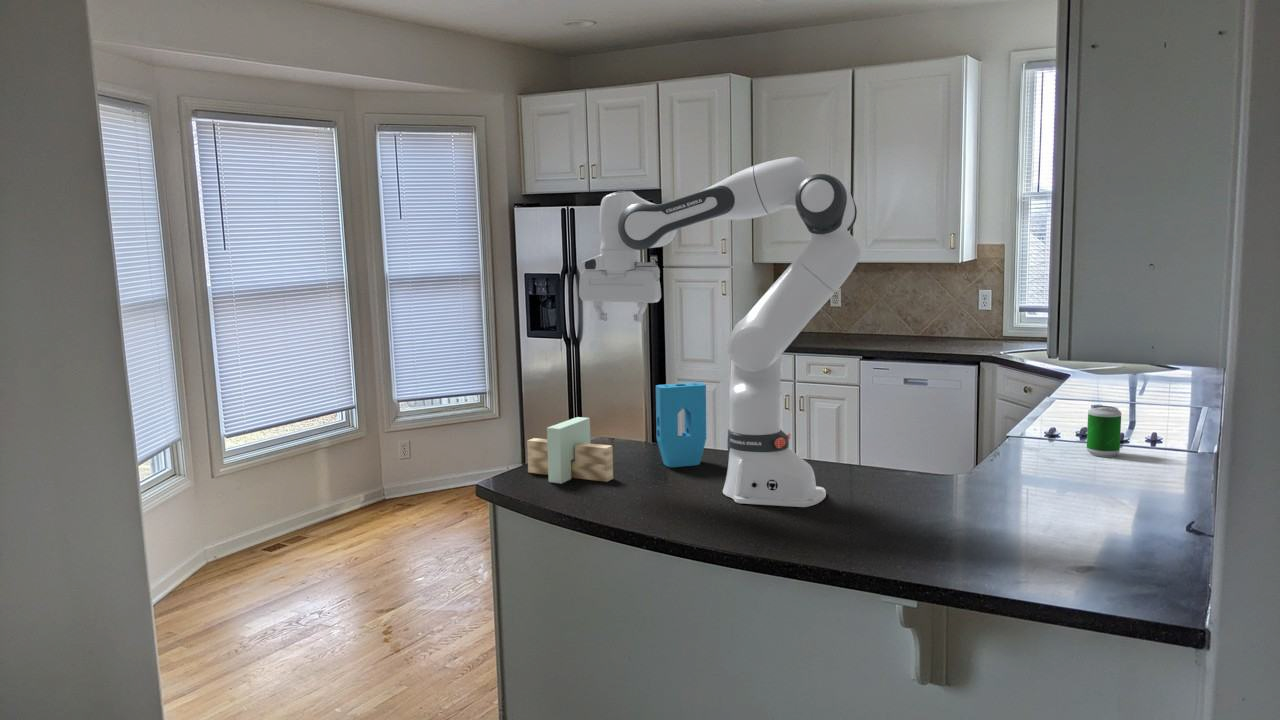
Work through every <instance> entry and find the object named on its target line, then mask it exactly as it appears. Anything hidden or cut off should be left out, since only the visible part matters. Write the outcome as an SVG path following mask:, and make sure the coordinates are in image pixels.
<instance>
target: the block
mask: <svg viewBox="0 0 1280 720" xmlns="http://www.w3.org/2000/svg"><path fill="white" fill-rule="evenodd" d="M682 410H684V411H683V412H684V432H683V431H682V432H681V435H679V423H678V422H679V420H678V419H679V416H678V415H679V413H680V412H681V411H682ZM655 420H656V422H655V423H656V427H655V428H656V429H655V430H656V433H655V434H656V442H657V446H658V449H659V452H660V456H661V459H662V462H663V465H664V466H666V467H667V468H679V467H691V466H699V465H700V464H701V461H702V457H703V453H704V449H705V445H706V440H707V385H706V384H705V383H704V382H684V383H668V384H667V383H665V384H657V385H655Z"/></svg>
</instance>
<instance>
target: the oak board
mask: <svg viewBox="0 0 1280 720" xmlns="http://www.w3.org/2000/svg"><path fill="white" fill-rule="evenodd" d="M526 441H527V442H526V444H527V445H526V446H527V448H526V449H527V472H528V473H530V474H538V475H545V476H546V475H547V476H548V448H547V438H539V437H538V438H537V437H533V438H531V439H527V440H526ZM590 443H591V442H590ZM590 443H579V444H577V445H575V459H573V460H571V479H581V480H589V481H599V482H605V483H606V482H607V483H608V482H609V481H611V480H614V461H613V458H614V455H613V445H610V444H599V443H597V444H596V443H591V444H590Z"/></svg>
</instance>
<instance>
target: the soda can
mask: <svg viewBox="0 0 1280 720" xmlns="http://www.w3.org/2000/svg"><path fill="white" fill-rule="evenodd" d="M1121 427H1122V411H1121V410H1119V408H1118V407H1117V406H1110V405H1092V406H1091V408H1089V409H1088V411H1087V432H1086V451H1087V452H1088V453H1089V455H1091V456H1094V457H1097V458H1098V457H1100V458H1114V457H1116V456H1117V454H1119V453H1120V451H1121V448H1120V447H1121V433H1122V431H1121Z"/></svg>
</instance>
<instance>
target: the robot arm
mask: <svg viewBox="0 0 1280 720" xmlns="http://www.w3.org/2000/svg"><path fill="white" fill-rule="evenodd" d="M599 208H600V209H599V234H600V238H601V239H600V240H601V241H600V242H601V243H600V247H599V255H596V256H593V257H590V258H588V259H585V260H583V261H581V263H580V267H581V270H582V272H581V274H580V276H579V282H578V283H579V284H578V285H579V286H578V295H579V298H580V299H581V301H582V302H593V308H594V309H595V312H596V313H597V315H598V316H597V317H598V322H606V321H607V320H608V313H607V312H605V311H604V309H603V308H602V306H604V302H605V303H606V302H607V303H637V308H639V309H638V310H637V313H636V314H635V313H634V314H633V322H634V323H643V319H644V318H643V315H644V313H645V311H646V309H647V307H648V304H654V303H658V302H660V300H661V298H662V288H661V282H660V278H661V275H660V274H661V270H660V267H659V266H658V265H657V264H655V263H654V262H651V261H648V262H643V261H642V262H641V261H639V251H641V250H646V249H654V248H662V247H664V246H667V245H669V244H670V243H671V242H673V241H674V240H675V238H676V237H677V234H678V232H679V230H681V229H683V228H686V227H690V226H693V225H696V224H699V223H703V222H707V221H708V222H709V221H716V220H718V221H719V220H724V221H726V220H728V221H743V220H744V221H745V220H751V219H755V218H757V219H758V218H761V217H764V216H767V215H770V214H773V213H776V212H780V211H783V210H787V209H795V210H796V211H797V213H798V216H799V217H800V219H801V220H802V222H803V223H804V225H805V227H806V229H807V230H808V232H809V233H810V234H811V236H810V237H811V238H810V240H809V242H808V244H807V246H806V247H805V248H804V249H803V250H802V251H801V252H800V253H799V255H798V256H796V258H795V259H793V261H792V262H791V264H789V266H788V267H787V268H786V269H785V270H784V271H783V272H782V274H781V275H780V276H779V277H778V278H777V279H776V281H774V283H773V284H772V285H771V286H770V287H769V288H768V290H767V291H766V292H765V293H764V294H763V295H762V296H761V298H760V299H759V300H758V301H757V302H756V303H755V304H754V306H753V307H752V308H751V309H750V310H749V311H748V313H747V314H746V315H745V316H744V317H743V318H741V320H739V321H738V322H737V323H736V324H735V326H734V327H733V329H732V331H731V333H729V337H728V340H727V352H728V355H729V358H730V379H729V428H728V430H727V439H726V441H727V443H726V445H727V446H726V447H727V455H728V465H727V470H726V476H725V481H724V486H723V489H722V493H723V495H724V496H725V497H728V498H731V499H732V500H733V501H734V502H735V503H737V504H746V505H747V504H748V505H761V506H777V507H778V506H779V507H794V508H795V507H797V508H809V507H811V506H815V505H818V504H819V503H821V502H822V501H823V500H824V499H826V497H827V491H826V489H825V488H824V487H822V486H819V485H818V486H817V483H816V476H815V472H814V471H815V470H814V469H813V467H812V465H811V464H809V462H807V461H806V460H804V459H803V458H802V457H800V456H799V455H798V454H797V453H795V451H793V450H792V449H791V448H790V447H789V445H790V439H791V433H788V434H786V433H785V432H784V431H783V430H782V429H781V361H782V358H781V357H782V356H781V355H782V354H784V352H785V351H786V349H788V347H789V346H790V345H791V344H792V342H793V341H794V340H795V339H796V338H797V336H798V335H799V334H800V333H801V332H802V331H803V329H804V328H805V327H806V326H807V324H808V323H809V322H810V321H811V319H813V317H815V315H816V314H817V313H818V312H819V311H820V310H821V309H822V308H823V306H824V305H826V303H827V302H828V301H829V300H830V299H831V298H832V297H833V295H834V294H836V292H838V290H839V289H840V288H841V286H842V285H843V284H844V283H845V281H846V280H847V279H848V278H849V276H850V275H851V273H852V272H853V270H854V269H855V267H856V266H857V264H858V262H859V260H860V258H861V253H862V251H861V248H860V245H859V243H858V241H857V240H856V238H855V237H854V236H853V235H852V234H851V233H850V232H849V231H850V230H852V228H853V227H854V225H855V223H856V220H857V214H858V210H857V205H856V203H855V200H854V199H853V197H852V194H851V192H850V191H849V189H848V187H846V186H845V185H844V184H843V183H842V181H840V180H839V178H837V177H835V176H833V175H831V174H825V173H817V174H812V171H811V169H810V167H809V165H808V164H807V163H806V161H804V160H803V159H802V158H800V157H798V156H790V157H782V158H779V159H778V158H777V159H773V160H768V161H765V162H762V163H757V164H755V165H752V166H749V167H747V168H744V169H743V170H739V171H737V172H735V173H733V174H732V175H729V176H728V177H726V178H724V179H723V180H720V181H718V182H716V183H714V184H713V185H710V186H709V187H708V186H707V188H704V189H702V190H701V191H697V192H695V193H692V194H688V195H685V196H682V197H680V198H676V199H673V200H670V201H667V202H664V203H659V204H656V203H653V202H651V201H648V200H646V199H644V198H642V197H641V196H639V195H638V194H636V193H635V192H633V191H632V190H622V191H615V192H612V193H609V194H606V195H605V196H603V198H602V199H601V202H600V207H599Z"/></svg>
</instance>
